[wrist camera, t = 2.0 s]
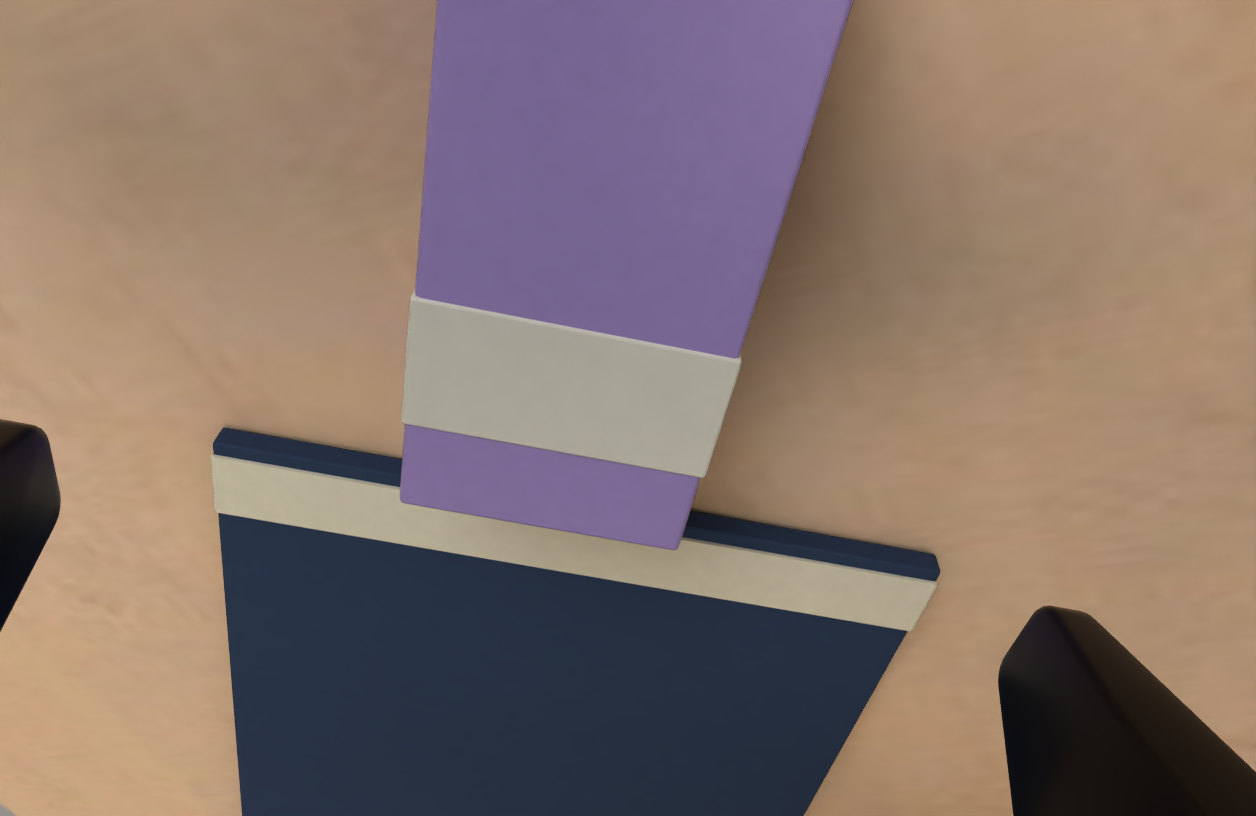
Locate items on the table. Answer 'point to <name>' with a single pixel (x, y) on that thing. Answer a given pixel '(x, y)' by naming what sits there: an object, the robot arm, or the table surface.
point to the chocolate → (598, 248)
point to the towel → (533, 651)
